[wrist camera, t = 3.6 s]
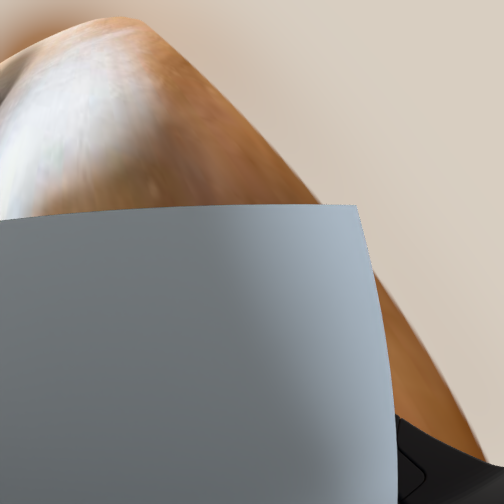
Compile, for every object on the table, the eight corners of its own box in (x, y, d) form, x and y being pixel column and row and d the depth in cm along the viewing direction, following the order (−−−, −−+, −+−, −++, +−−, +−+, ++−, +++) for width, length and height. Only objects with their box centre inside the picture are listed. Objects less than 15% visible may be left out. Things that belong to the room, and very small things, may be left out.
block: (275, 463, 11) (385, 610, 1) (166, 463, 11) (-21, 552, 1) (270, 363, 14) (355, 204, 3) (165, 364, 14) (-8, 221, 3)
